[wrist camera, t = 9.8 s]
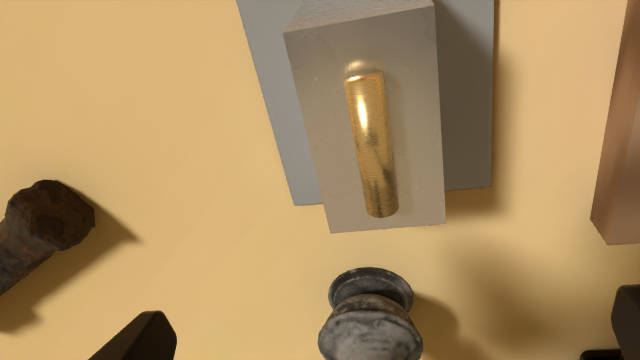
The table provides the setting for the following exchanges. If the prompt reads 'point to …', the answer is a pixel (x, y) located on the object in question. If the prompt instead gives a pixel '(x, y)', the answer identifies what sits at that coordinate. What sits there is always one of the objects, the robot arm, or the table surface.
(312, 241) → the table surface
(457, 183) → the rubber mat
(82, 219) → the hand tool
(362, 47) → the lever cap
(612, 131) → the body
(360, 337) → the weathered candle holder
